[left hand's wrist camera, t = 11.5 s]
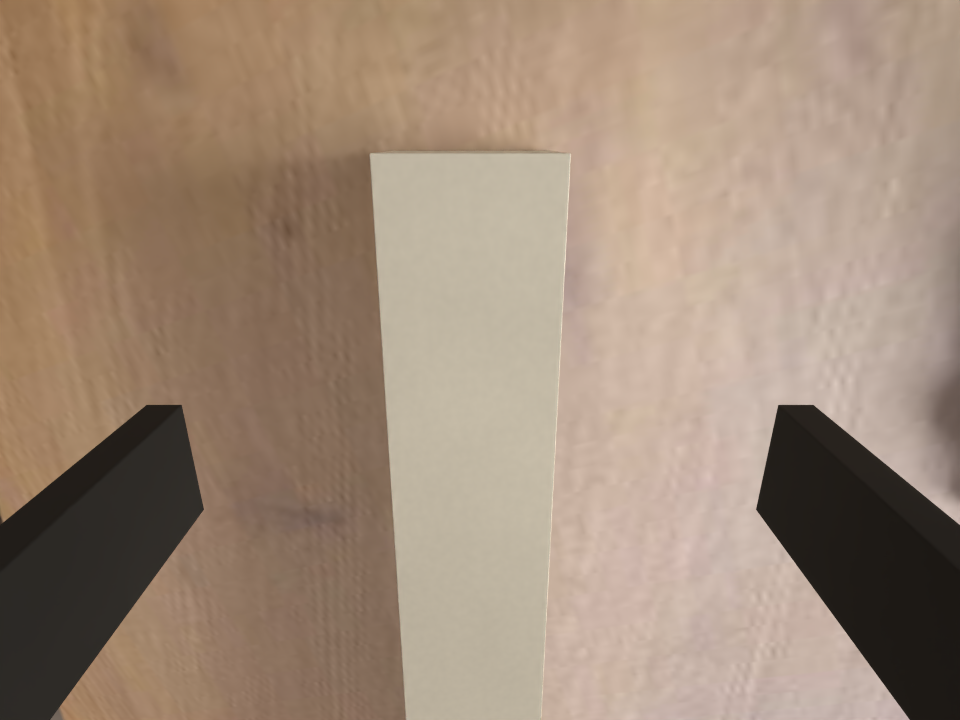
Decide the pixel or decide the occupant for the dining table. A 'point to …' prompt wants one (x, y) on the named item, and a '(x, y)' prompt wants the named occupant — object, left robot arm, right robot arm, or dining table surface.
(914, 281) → the dining table surface
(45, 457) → the dining table surface
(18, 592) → the left robot arm
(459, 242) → the wide beam
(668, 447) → the dining table surface
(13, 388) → the dining table surface
